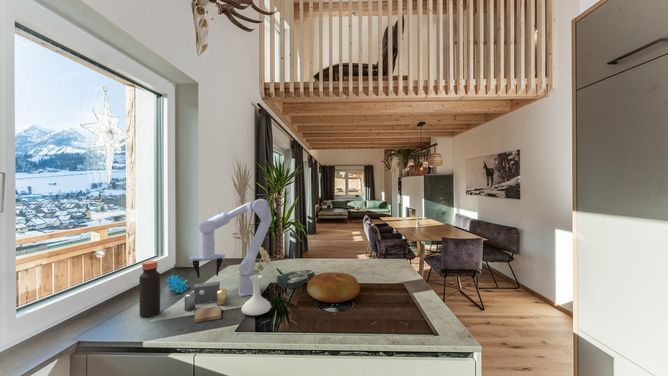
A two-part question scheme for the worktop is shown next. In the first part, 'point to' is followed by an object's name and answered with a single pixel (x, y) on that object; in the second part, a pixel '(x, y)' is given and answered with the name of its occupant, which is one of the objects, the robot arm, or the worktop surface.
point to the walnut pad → (207, 314)
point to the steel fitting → (190, 301)
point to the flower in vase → (257, 291)
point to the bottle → (149, 290)
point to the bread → (333, 287)
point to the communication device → (294, 278)
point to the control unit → (206, 292)
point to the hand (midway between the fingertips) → (207, 276)
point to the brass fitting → (221, 297)
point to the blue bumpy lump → (177, 284)
